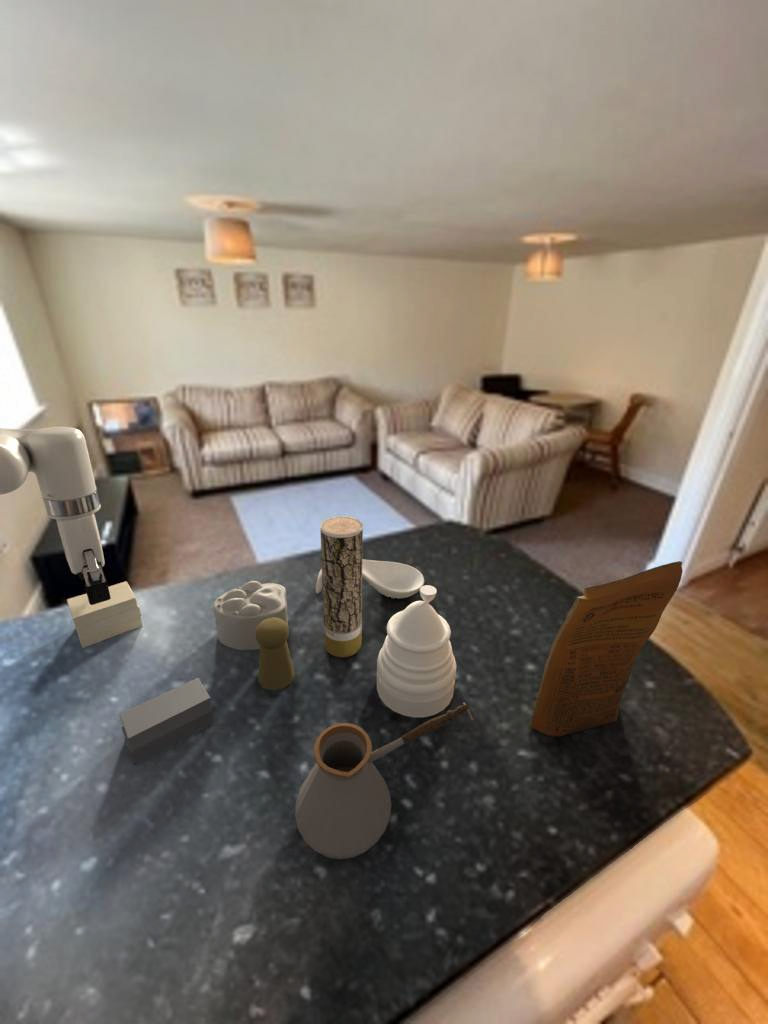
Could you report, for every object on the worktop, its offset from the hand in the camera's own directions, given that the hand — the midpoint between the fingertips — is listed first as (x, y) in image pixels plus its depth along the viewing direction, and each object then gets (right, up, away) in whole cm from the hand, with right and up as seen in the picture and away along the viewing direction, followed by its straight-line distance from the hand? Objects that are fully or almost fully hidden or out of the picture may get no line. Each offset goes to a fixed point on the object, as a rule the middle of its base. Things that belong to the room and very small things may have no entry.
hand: (94, 588), depth 82 cm
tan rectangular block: (0, -8, +4) cm, 9 cm away
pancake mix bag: (+83, -18, -13) cm, 86 cm away
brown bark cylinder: (+45, -11, +1) cm, 47 cm away
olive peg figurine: (+35, -14, -6) cm, 38 cm away
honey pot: (+58, -15, -7) cm, 60 cm away
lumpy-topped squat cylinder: (+28, -9, +4) cm, 30 cm away
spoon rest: (+50, -4, +17) cm, 53 cm away
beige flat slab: (0, -4, +2) cm, 5 cm away
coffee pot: (+53, -23, -25) cm, 63 cm away
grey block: (+22, -18, -16) cm, 32 cm away
